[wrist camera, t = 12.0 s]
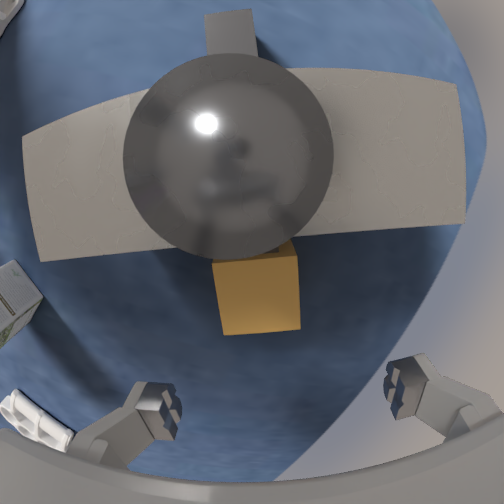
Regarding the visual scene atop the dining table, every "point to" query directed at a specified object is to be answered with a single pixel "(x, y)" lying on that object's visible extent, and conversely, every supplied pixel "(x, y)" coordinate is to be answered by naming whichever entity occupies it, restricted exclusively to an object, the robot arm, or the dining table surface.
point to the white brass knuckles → (35, 422)
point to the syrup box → (16, 300)
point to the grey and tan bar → (263, 265)
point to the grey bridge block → (246, 161)
